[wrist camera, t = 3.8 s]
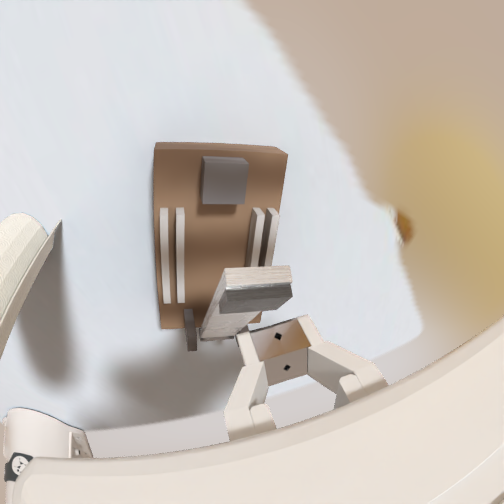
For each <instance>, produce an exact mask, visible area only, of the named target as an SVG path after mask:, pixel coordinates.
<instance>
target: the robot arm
mask: <svg viewBox="0 0 504 504" xmlns="http://www.w3.org/2000/svg"><path fill="white" fill-rule="evenodd" d="M236 335H237V340H238V343H239V347H240V351H241V355H242V359H243V363H244V367H242V368H241V371H240V373H239V376H238V378H237V381H236V383H235V386H234V388H233V390H232V393H231V395H230V398H229V400H228V402H227V405H226V407H225V410H224V412H223V414H224V418H225V423H226V427H227V431H228V435H229V440H230V441H229V442H225V443H220V444H215V445H210V446H206V447H200V448H194V449H188V450H182V451H175V452H168V453H160V454H152V455H142V456H130V457H115V458H93V455H92V452H91V449H90V446H89V443H88V440H87V437H86V435H85V432H84V431H82V430H80V429H77V428H74V427H71V426H68V425H66V424H64V423H62V422H61V421H59V420H57V419H55V418H53V417H50V416H48V415H46V414H43V413H40V412H37V411H33V410H29V409H24V408H13V409H10V410H9V411H8V413H7V417H5V418H3V421H2V423H3V425H4V426H5V435H4V456H5V458H6V459H7V462H8V463H6V464H5V470H4V475H5V476H4V480H5V482H6V500H5V501H6V502H5V504H504V315H503V316H502V317H501V318H499V319H498V320H497V321H495V322H494V323H492V324H491V325H490V326H488V327H487V328H486V329H484V330H483V331H481V332H480V333H478V334H477V335H475V336H474V337H473V338H471V339H470V340H468V341H467V342H465V343H463V344H462V345H460V346H459V347H457V348H456V349H454V350H453V351H451V352H449V353H448V354H446V355H444V356H443V357H441V358H439V359H438V360H436V361H434V362H432V363H431V364H429V365H427V366H425V367H424V368H422V369H420V370H418V371H416V372H415V373H413V374H411V375H409V376H407V377H405V378H403V379H401V380H399V381H397V382H395V383H393V384H391V385H388V383H387V382H386V380H385V379H384V377H383V376H382V374H381V373H380V371H379V370H378V368H377V366H376V365H375V363H373V362H371V361H369V360H367V359H365V358H362V357H360V356H358V355H356V354H354V353H352V352H350V351H348V350H346V349H344V348H342V347H340V346H337V345H335V344H333V343H331V342H329V341H325V342H324V340H323V338H322V337H321V335H320V333H319V331H318V330H317V328H316V326H315V325H314V323H313V321H312V319H311V318H310V316H309V315H308V314H307V315H303V316H300V317H297V318H293V319H290V320H287V321H284V322H280V323H277V324H274V325H271V326H268V327H264V328H260V329H256V330H252V331H248V332H244V333H240V334H236ZM306 374H308V375H309V376H310V377H311V378H313V379H314V380H316V381H317V382H319V383H320V384H322V385H323V386H325V387H326V388H328V389H329V390H331V391H332V392H334V393H335V394H337V395H336V401H335V405H334V410H331V411H329V412H326V413H323V414H321V415H318V416H315V417H312V418H309V419H307V420H304V421H301V422H298V423H295V424H292V425H288V426H285V427H282V428H279V429H277V428H276V425H275V423H274V420H273V418H272V415H271V412H270V409H269V406H268V405H266V404H264V402H265V399H266V395H267V392H268V388H269V387H268V386H271V385H274V384H277V383H280V382H283V381H286V380H289V379H293V378H296V377H300V376H303V375H306Z"/></svg>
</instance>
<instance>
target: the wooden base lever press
mask: <svg viewBox="0 0 504 504" xmlns="http://www.w3.org/2000/svg"><path fill="white" fill-rule="evenodd" d="M287 158H288V154H286V153H285V152H283V151H282V150H280V149H278V148H277V147H271V146H258V145H243V144H225V143H194V142H156V145H155V148H154V235H155V256H156V273H157V287H158V299H159V310H160V320H161V329H177V328H185V333H186V341H187V348H188V351H197V334H196V327H201V325H202V323H203V320H204V318H205V315H206V313H207V310H208V308H209V306H210V303H211V301H212V298H213V296H214V293H215V291H216V288H217V286H218V284H219V281H220V279H221V276H222V274H223V271H224V269H225V268H243V267H266V266H271V265H272V260H273V254H274V248H275V242H276V236H277V230H278V224H279V218H280V215H279V209H280V203H281V197H282V190H283V184H284V178H285V171H286V165H287ZM261 315H262V311H261V312H260V313H259V314H258V315H257V316H256V317H254V318H253V319H252V320H251V321H250V322H249V323H248V324H250V323H260V320H261ZM248 331H249V329H248V326H247V325H246V326H245V327H243V328H242V329H241V330H240V331H239V332H238V333H237V334H240V333H244V332H248ZM235 337H236V341H237V344H238V347H239V343H238V340H237V335H235Z"/></svg>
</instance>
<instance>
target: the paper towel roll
mask: <svg viewBox="0 0 504 504" xmlns="http://www.w3.org/2000/svg"><path fill="white" fill-rule="evenodd" d="M60 221H61V219H60ZM60 221H59V222H60ZM59 222H58V223H57V224H56V226H55V227H54V229H53V230H52V232H51V233H50V235H49V236H47V234H46V232H45V230H44V228H43V227H42V225H41V224H40V223H39V222H38V221H37V220H36V219H35V218H34V217H32V216H29V215H27V214H24V213H15V214H12V215H10V216H8V217H7V218H5V219H4V220H3V221H2V222H1V223H0V359H1V356H2V353H3V351H4V348H5V346H6V343H7V340H8V338H9V335H10V333H11V331H12V328H13V326H14V323H15V321H16V319H17V317H18V314H19V312H20V310H21V308H22V306H23V303H24V301H25V299H26V297H27V295H28V293H29V291H30V289H31V287H32V285H33V283H34V281H35V279H36V277H37V275H38V273H39V272H40V270H41V268H42V266H43V264H44V262H45V261H46V259H47V257H48V255H49V253H50V251H51V249H52V247H53V241H54V232H55V230H56V227H57V225H58V224H59Z"/></svg>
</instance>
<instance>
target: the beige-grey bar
mask: <svg viewBox="0 0 504 504" xmlns="http://www.w3.org/2000/svg"><path fill="white" fill-rule="evenodd" d="M292 282H293V281H292V276H291V271H290V266H266V267H243V268H225V269H224V271H223V274H222V276H221V279H220V281H219V284H218V286H217V288H216V291H215V293H214V296H213V298H212V301H211V303H210V306H209V308H208V310H207V313H206V315H205V318H204V320H203V323H202V325H201V328H199V337H200V341H213V340H226V339H234V335H236V334H237V333H238V332H239V331H240V330H241V329H242V328H243V327H245V326H246V325H247V324H248V323H249V322H250V321H251V320H252V319H253V318H254V317H256V316H257V315H258V314H259V313H260V312H261V311H268V310H277V309H278V308H279V307H280V306H282V305H283V304H284V303H285V302H287V301H288V300H289V299H290V298H291V297H293V296H292V290H291V285H290V284H291V283H292Z"/></svg>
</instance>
